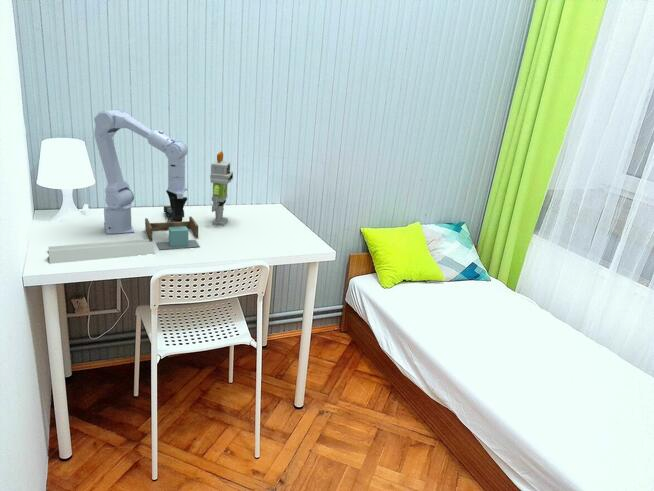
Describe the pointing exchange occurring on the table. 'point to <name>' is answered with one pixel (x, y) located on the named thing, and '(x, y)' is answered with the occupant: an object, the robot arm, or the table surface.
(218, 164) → the toy
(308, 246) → the table surface
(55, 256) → the crown molding
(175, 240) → the block
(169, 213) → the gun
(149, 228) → the frame
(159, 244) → the mat
